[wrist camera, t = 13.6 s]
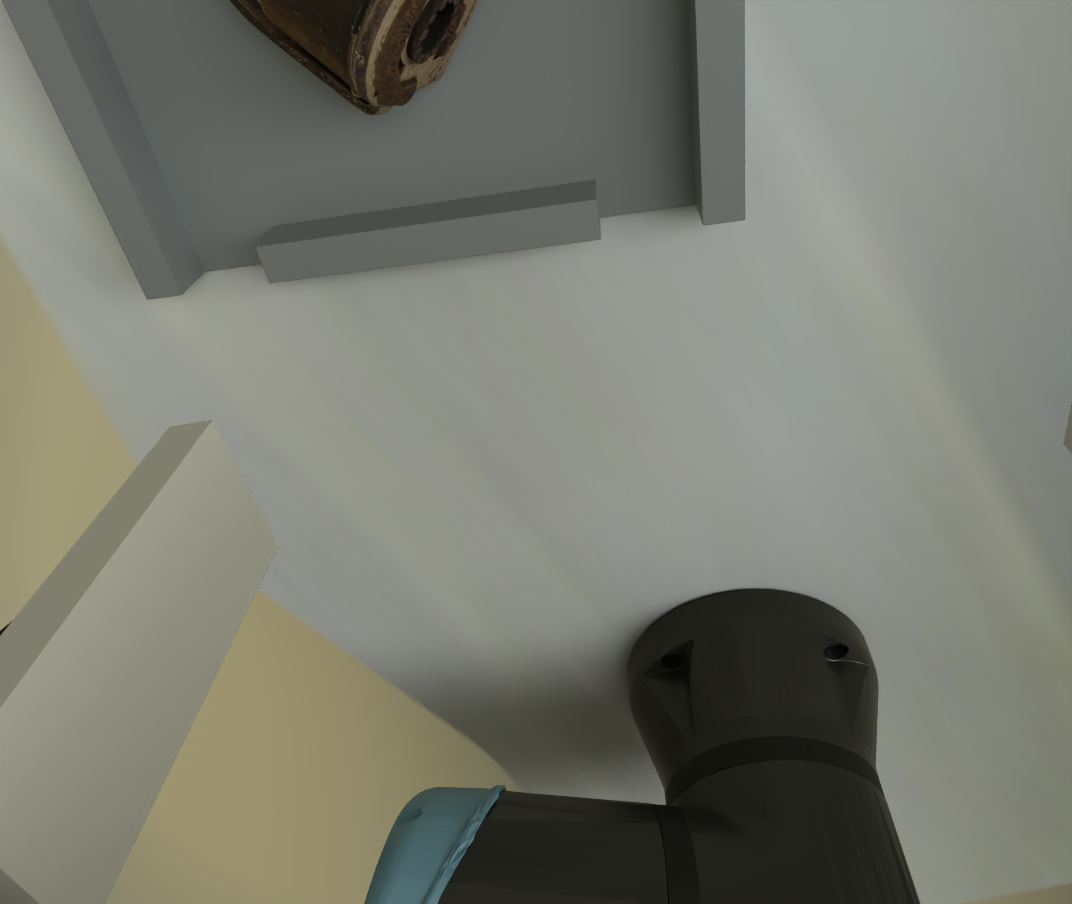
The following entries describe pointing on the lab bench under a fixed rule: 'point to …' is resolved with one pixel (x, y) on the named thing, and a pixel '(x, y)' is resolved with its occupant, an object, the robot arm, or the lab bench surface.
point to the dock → (390, 133)
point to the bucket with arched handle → (365, 43)
